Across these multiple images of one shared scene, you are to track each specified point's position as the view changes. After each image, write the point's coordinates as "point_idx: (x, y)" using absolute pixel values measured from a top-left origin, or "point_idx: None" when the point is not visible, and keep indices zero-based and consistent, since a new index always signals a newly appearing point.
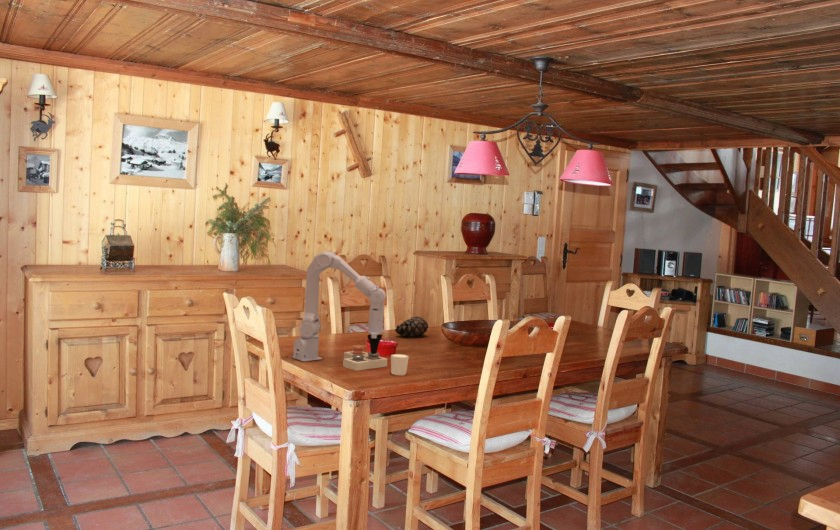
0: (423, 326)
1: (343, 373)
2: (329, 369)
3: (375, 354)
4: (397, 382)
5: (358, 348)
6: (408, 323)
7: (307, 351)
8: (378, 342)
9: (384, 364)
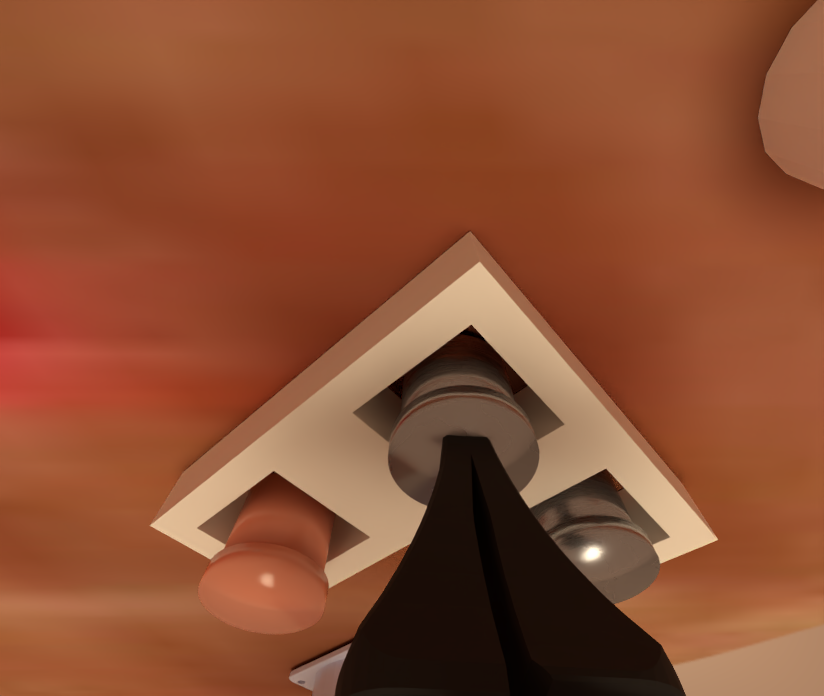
0: None
1: (755, 544)
2: (632, 602)
3: (537, 442)
4: None
5: (327, 589)
6: None
7: None
8: (585, 583)
9: (498, 270)
